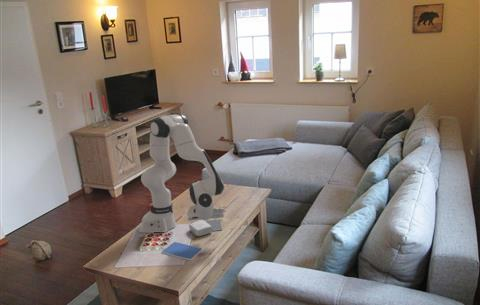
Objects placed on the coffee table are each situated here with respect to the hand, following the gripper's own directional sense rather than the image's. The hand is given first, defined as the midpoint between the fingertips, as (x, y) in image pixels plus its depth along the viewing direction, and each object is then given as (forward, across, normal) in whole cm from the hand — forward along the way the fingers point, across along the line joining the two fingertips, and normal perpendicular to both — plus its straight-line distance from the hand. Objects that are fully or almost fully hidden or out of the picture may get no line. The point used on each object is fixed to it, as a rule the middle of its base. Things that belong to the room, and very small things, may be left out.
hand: (205, 219), depth 226 cm
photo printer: (+4, +1, +6) cm, 7 cm away
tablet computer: (-4, +14, +19) cm, 24 cm away
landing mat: (+14, 0, 0) cm, 14 cm away
